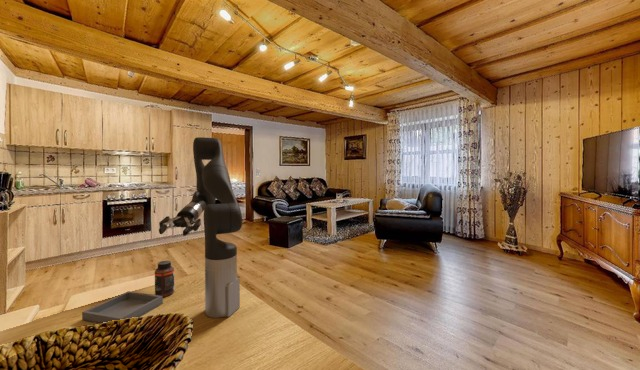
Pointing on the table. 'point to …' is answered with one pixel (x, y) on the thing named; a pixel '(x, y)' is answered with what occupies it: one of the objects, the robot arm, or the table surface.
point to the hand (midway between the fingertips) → (172, 233)
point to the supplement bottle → (164, 279)
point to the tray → (122, 307)
